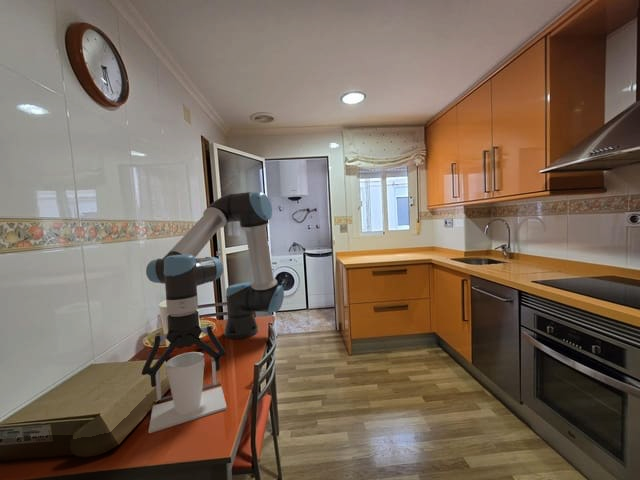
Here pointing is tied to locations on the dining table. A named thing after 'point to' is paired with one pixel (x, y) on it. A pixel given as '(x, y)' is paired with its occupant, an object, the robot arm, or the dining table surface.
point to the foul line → (202, 389)
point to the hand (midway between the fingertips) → (188, 389)
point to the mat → (168, 416)
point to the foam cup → (186, 380)
